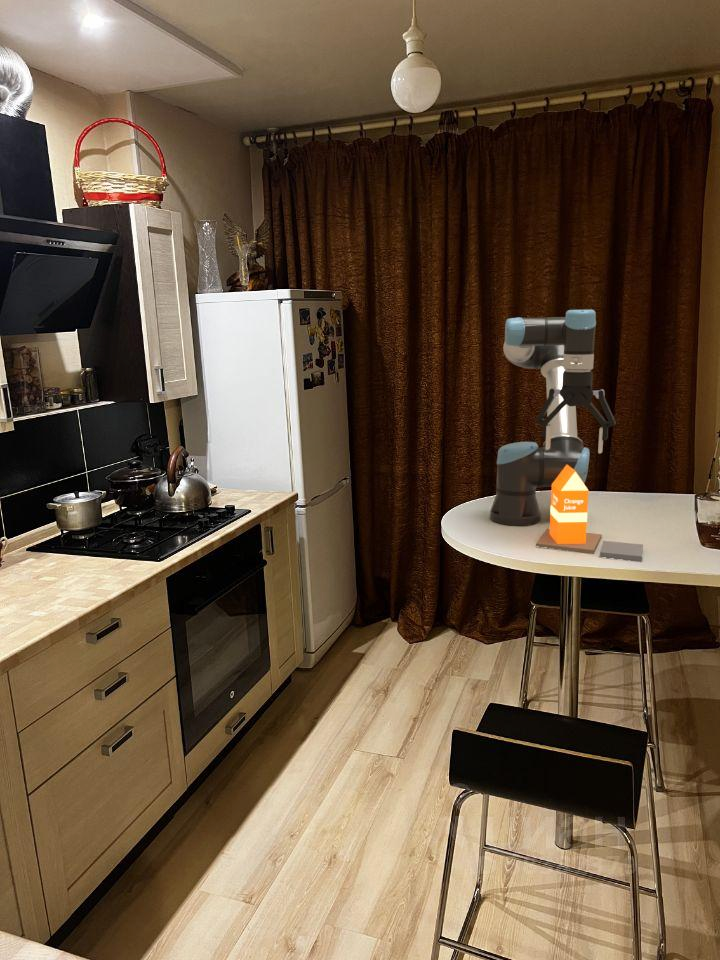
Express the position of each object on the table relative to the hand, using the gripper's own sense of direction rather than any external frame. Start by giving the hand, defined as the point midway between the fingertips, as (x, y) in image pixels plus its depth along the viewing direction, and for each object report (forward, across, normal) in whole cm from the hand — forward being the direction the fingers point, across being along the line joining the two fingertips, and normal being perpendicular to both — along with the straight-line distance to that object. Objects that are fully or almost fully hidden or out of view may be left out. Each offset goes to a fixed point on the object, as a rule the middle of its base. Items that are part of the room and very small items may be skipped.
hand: (573, 450), depth 194 cm
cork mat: (+25, 0, 0) cm, 25 cm away
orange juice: (+25, 0, 0) cm, 25 cm away
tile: (+25, +14, -5) cm, 29 cm away
